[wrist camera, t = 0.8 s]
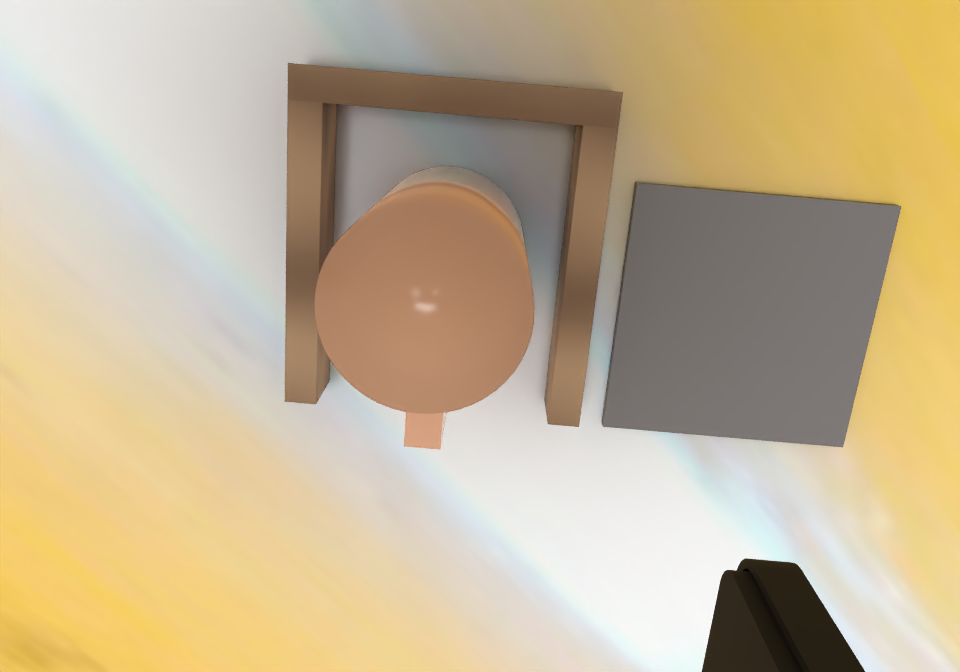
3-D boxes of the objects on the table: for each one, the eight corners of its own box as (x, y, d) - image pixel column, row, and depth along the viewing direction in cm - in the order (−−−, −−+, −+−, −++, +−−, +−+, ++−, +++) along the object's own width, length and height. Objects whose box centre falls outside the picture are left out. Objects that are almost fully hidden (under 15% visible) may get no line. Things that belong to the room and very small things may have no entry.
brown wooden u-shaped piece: (305, 65, 29) (288, 63, 27) (612, 91, 29) (622, 92, 27) (300, 378, 33) (284, 401, 30) (573, 402, 33) (578, 426, 31)
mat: (635, 182, 30) (637, 183, 30) (896, 204, 30) (901, 206, 30) (601, 422, 33) (602, 426, 33) (838, 443, 33) (842, 447, 33)
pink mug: (374, 159, 30) (316, 192, 21) (531, 173, 30) (545, 211, 21) (365, 368, 33) (310, 483, 23) (510, 380, 33) (514, 500, 23)
